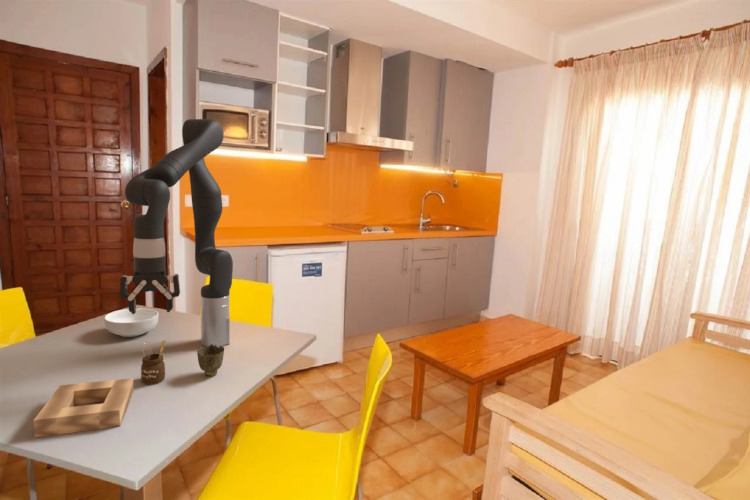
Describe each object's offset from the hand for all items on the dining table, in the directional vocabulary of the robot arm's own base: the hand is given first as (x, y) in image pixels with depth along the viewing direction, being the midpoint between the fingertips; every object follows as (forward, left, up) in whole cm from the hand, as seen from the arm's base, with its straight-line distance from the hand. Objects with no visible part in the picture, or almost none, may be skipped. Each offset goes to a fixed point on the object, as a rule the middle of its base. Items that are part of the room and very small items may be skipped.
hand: (151, 312), depth 114 cm
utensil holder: (0, 0, -20) cm, 20 cm away
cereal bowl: (+12, -40, -20) cm, 46 cm away
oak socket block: (+12, +14, -20) cm, 27 cm away
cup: (-15, 0, -20) cm, 25 cm away
